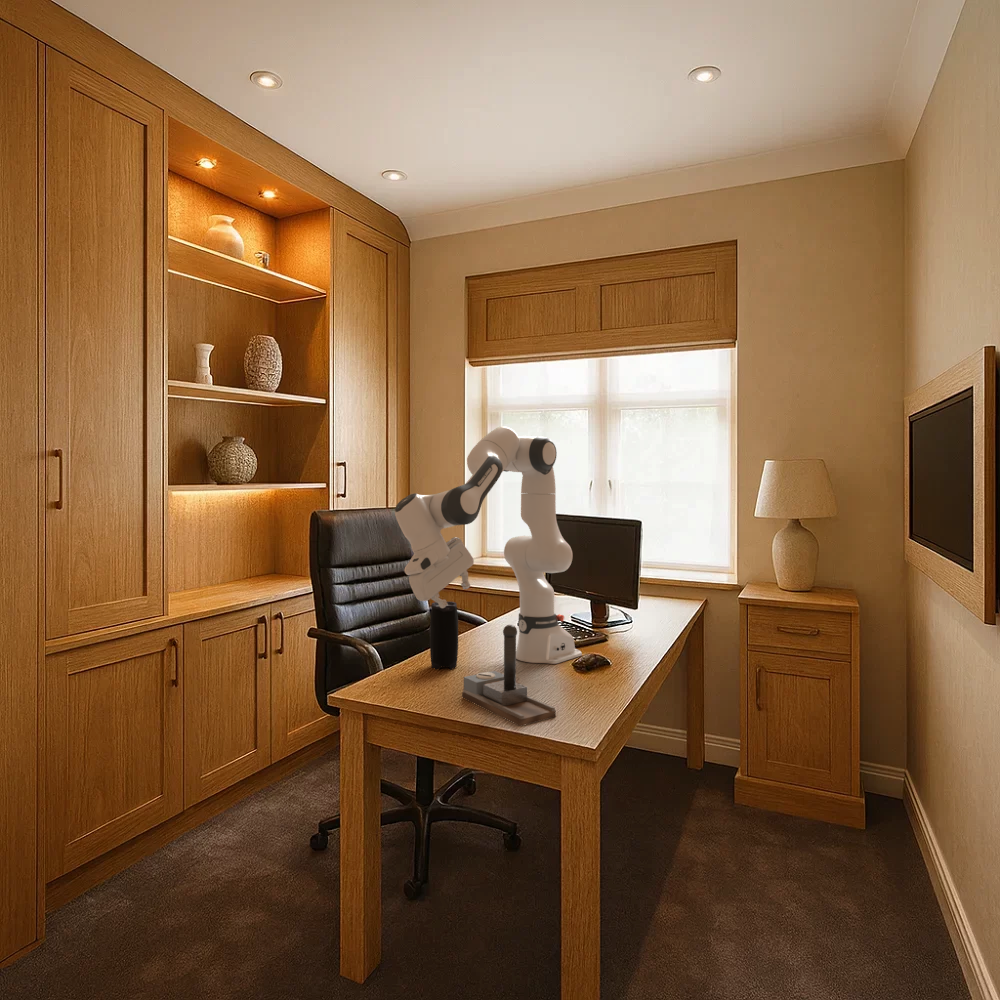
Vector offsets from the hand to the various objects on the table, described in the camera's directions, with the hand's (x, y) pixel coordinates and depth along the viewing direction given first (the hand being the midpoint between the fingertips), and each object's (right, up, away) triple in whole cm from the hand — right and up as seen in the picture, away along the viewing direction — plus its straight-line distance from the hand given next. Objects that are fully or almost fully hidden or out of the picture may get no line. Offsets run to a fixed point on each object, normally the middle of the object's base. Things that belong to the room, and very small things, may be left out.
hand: (456, 597), depth 187 cm
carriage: (+13, -25, -10) cm, 30 cm away
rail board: (+14, -26, -10) cm, 31 cm away
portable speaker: (-5, -25, +26) cm, 37 cm away
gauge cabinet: (+8, -25, -3) cm, 26 cm away
